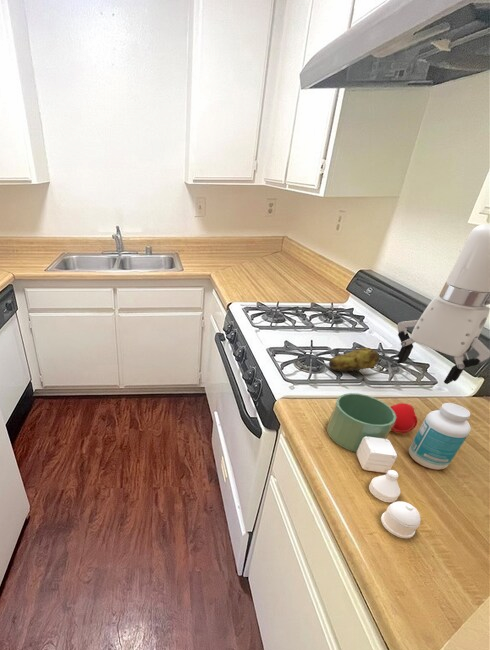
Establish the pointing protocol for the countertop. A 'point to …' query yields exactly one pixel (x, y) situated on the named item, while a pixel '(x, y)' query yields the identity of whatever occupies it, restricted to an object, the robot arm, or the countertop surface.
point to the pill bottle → (440, 436)
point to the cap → (404, 418)
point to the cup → (359, 420)
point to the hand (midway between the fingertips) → (423, 371)
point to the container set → (388, 486)
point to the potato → (355, 360)
